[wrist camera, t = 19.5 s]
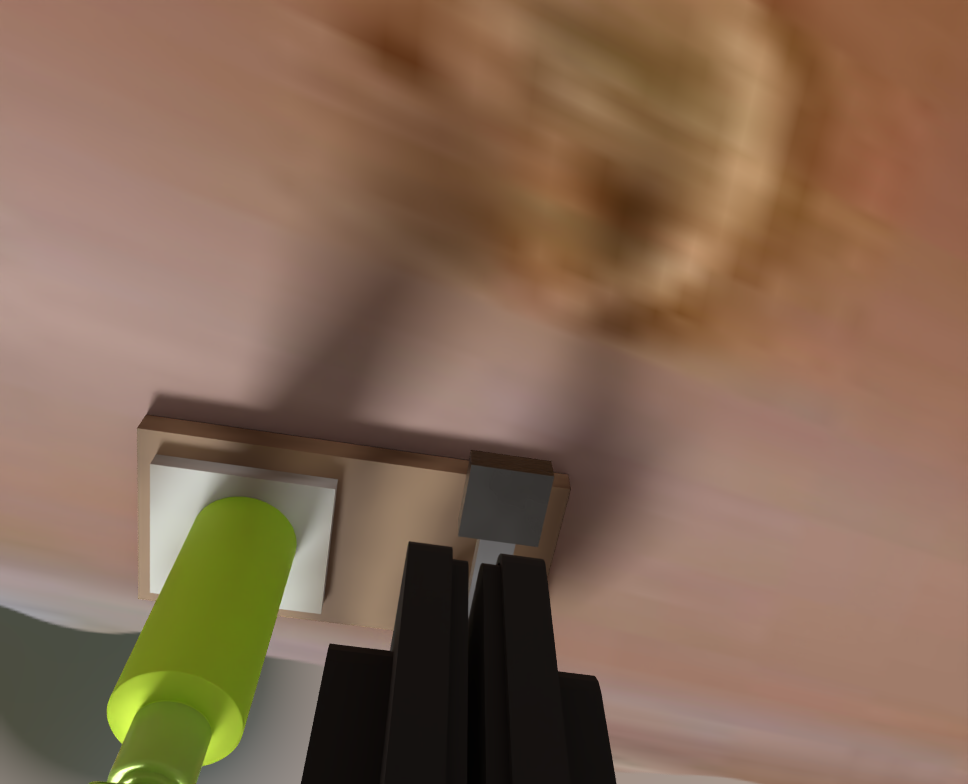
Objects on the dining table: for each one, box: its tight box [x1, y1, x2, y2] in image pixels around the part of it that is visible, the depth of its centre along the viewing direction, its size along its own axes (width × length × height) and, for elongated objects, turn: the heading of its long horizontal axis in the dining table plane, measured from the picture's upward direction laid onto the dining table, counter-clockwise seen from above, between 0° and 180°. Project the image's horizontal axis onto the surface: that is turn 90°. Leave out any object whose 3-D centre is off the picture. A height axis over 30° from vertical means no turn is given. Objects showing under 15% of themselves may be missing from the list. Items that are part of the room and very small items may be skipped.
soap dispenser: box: [89, 497, 297, 784], centre depth 41 cm, size 6×7×20 cm
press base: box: [137, 415, 571, 631], centre depth 47 cm, size 24×12×14 cm, turn 80°
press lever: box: [458, 450, 554, 618], centre depth 43 cm, size 6×23×6 cm, turn 170°
